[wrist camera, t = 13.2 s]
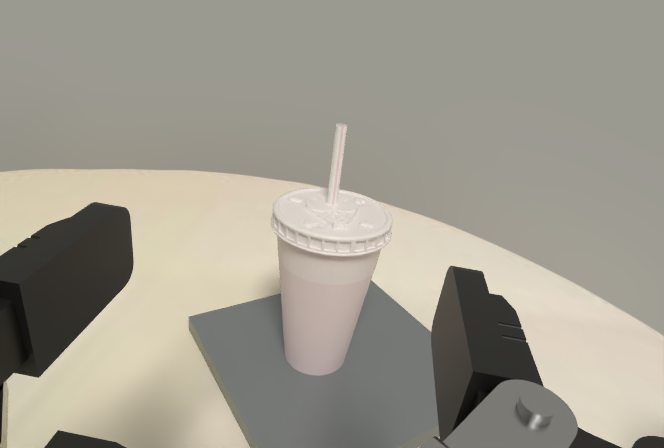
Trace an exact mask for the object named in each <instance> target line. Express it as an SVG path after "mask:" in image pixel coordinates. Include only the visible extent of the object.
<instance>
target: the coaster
mask: <svg viewBox="0 0 664 448" xmlns="http://www.w3.org/2000/svg"><path fill="white" fill-rule="evenodd" d="M189 330H190V332H191V334H192V336H193V338H194V340H195V342H196V343H197V345H198V347H199V349H200V351H201V353H202V355H203V357H204V359H205V361H206V363H207V365H208V367H209V368H210V370H211V372H212V374H213V376H214V378H215V380H216V382H217V384H218V386H219V388H220V390H221V392H222V393H223V395H224V397H225V399H226V401H227V403H228V405H229V407H230V409H231V411H232V413H233V415H234V417H235V418H236V420H237V422H238V424H239V426H240V428H241V430H242V432H243V434H244V436H245V438H246V440H247V441H248V443H249V445H250V447H251V448H418V447H420V446H422V445H423V444H424V443H425V442H426V441H427V440H428V439H430V438H431V437H434V436H436V437H439V425H438V414H437V403H436V392H435V381H434V370H433V359H432V348H431V332H430V331H429V330H428V329H427V328H426V327H424V326H423V325H422V324H421V323H420V322H419V321H418V320H416V319H415V318H414V317H413V316H412V315H411V314H409V313H408V312H407V311H406V310H405V309H404V308H403V307H401V306H400V305H399V304H398V303H397V302H396V301H394V300H393V299H392V298H391V297H390V296H389V295H388V294H386V293H385V292H384V291H383V290H382V289H381V288H379V287H378V286H377V285H376V284H375V283H374V282H373V281H370V284H369V287H368V290H367V293H366V296H365V299H364V302H363V305H362V308H361V311H360V314H359V317H358V320H357V323H356V327H355V330H354V333H353V336H352V339H351V342H350V345H349V348H348V351H347V354H346V357H345V360H344V363H343V364H342V366H341V367H340V368H339V369H338V370H336V371H335V372H333V373H330V374H327V375H320V376H315V375H308V374H304V373H302V372H299V371H297V370H296V369H294V368H293V367H292V366H291V365H290V364H289V363H288V362H287V360H286V358H285V351H284V335H283V319H282V303H281V294H278V295H274V296H270V297H266V298H262V299H258V300H254V301H250V302H246V303H242V304H238V305H234V306H230V307H226V308H222V309H218V310H214V311H210V312H206V313H202V314H198V315H194V316H190V317H189Z"/></svg>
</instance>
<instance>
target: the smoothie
mask: <svg viewBox="0 0 664 448" xmlns="http://www.w3.org/2000/svg"><path fill="white" fill-rule="evenodd" d="M346 131H347V125H344V124H336V130H335V138H334V147H333V155H332V162H331V171H330V179H329V187H328V188H305V189H299V190H294V191H291V192H288V193H286V194H284V195H282V196H280V197H279V198H278V199H277V200H276V201H275V202H274V204H273V213H272V218H271V226H272V228H273V231H274V233H275V234H277V236H278V257H279V270H280V286H281V303H282V319H283V335H284V351H285V358H286V360H287V362H288V363H289V364H290V365H291V366H292V367H293V368H294V369H296V370H297V371H299V372H302V373H304V374H308V375H315V376H320V375H327V374H330V373H333V372H335V371H336V370H338V369H339V368H340V367H341V366H342V364H343V363H344V360H345V357H346V354H347V351H348V348H349V345H350V342H351V339H352V336H353V333H354V330H355V327H356V323H357V320H358V317H359V314H360V311H361V308H362V305H363V302H364V299H365V296H366V293H367V290H368V287H369V284H370V281H371V278H372V275H373V272H374V270H375V267H376V264H377V260H378V257H379V254H380V251H381V249H382V248H384V247H385V246H386V245H387V244H388V243H389V242H390V239H391V234H392V233H391V228H392V224H393V218H392V215H391V214H390V212H389V211H388V210H387V209H386V208H385V207H384V206H383V205H381V204H380V203H379V202H377V201H375V200H373V199H371V198H369V197H366V196H364V195H361V194H358V193H354V192H350V191H345V190H340V189H339V184H340V177H341V169H342V162H343V154H344V147H345V139H346Z"/></svg>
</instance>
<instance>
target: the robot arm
mask: <svg viewBox="0 0 664 448" xmlns="http://www.w3.org/2000/svg"><path fill="white" fill-rule="evenodd" d="M132 270H133V248H132V235H131V221H130V214H129V211H128V210H127V209H126V208H124V207H120V206H114V205H108V204H103V203H97V202H94V203H91V204H90V205H88V206H87V207H85V208H84V209H82V210H81V211H79V212H78V213H76V214H75V215H73V216H72V217H69V218H66V219H63V220H61V221H58V222H55V223H52V224H49V225H47V226H45V227H44V228H42V229H41V230H39V231H38V232H36V233H35V234H33V235H32V236H31V238H27V239H25V240H24V241H22V242H21V243H19V244H18V246H17V247H13V248H12V249H10V250H9V251H7V252H5V253H4V254H2V255H1V256H0V448H7V422H8V387H7V383H6V380H7V379H8V378H9V377H10V376H11V375H12V374H13V373H18V374H23V375H28V376H33V377H38V378H39V377H40V376H41V375H42V374H43V372H44V371H45V370H46V369H47V368H48V367H49V366H50V365H51V364H52V363H53V362H54V361H55V360H56V359H57V358H58V357H59V356H60V354H61V353H62V352H63V351H64V350H65V349H66V348H67V347H68V346H69V345H70V344H71V343H72V342H73V341H74V340H75V339H76V338H77V336H78V335H79V334H80V333H81V332H82V331H83V330H84V329H85V328H86V327H87V326H88V325H89V324H90V323H91V322H92V321H93V320H94V318H95V317H96V316H97V315H98V314H99V313H100V312H101V311H102V310H103V309H104V308H105V307H106V306H107V305H108V304H109V303H110V301H111V300H112V299H113V298H114V297H115V296H116V295H117V294H118V293H119V292H120V291H121V290H122V289H123V288H124V287H125V285H126V284H127V283H128V281H129V279H130V277H131V274H132ZM431 348H432V359H433V370H434V381H435V392H436V403H437V414H438V425H439V436H440V439H439V438H438V437H436V436H434V437H431V438H430V439H428V440H427V441H426V442H425V443H424V444H423V445H422V446H421V447H420V448H621V447H619V446H617V445H615V444H612V443H610V442H608V441H605V440H603V439H601V438H599V437H596V436H594V435H592V434H590V433H588V432H586V431H584V430H582V429H580V428H579V427H578V425H577V421H576V418H575V416H574V414H573V412H572V410H571V409H570V408H569V407H568V405H567V404H566V403H565V402H564V401H563V400H562V399H561V398H560V397H558V396H557V395H556V394H554V393H553V392H551V391H550V390H548V389H546V388H545V387H544V386H543V383H542V381H541V378H540V375H539V373H538V370H537V367H536V364H535V362H534V359H533V356H532V354H531V351H530V348H529V345H528V343H527V342H526V337H525V335H524V332H523V329H521V324H520V321H519V318H518V316H517V313H516V311H515V309H514V308H513V307H512V306H511V305H510V304H509V303H508V302H507V301H506V300H505V299H504V298H503V296H500V295H495V294H489V291H488V287H487V284H486V281H485V278H484V274H483V272H482V271H477V270H472V269H466V268H461V267H455V266H450V267H449V269H448V271H447V274H446V277H445V281H444V284H443V288H442V291H441V295H440V298H439V302H438V305H437V309H436V312H435V316H434V320H433V325H432V332H431ZM45 448H126V447H124V446H122V445H120V444H118V443H116V442H112V441H107V440H102V439H97V438H92V437H88V436H83V435H78V434H73V433H68V432H64V431H59V430H58V431H57V432H56V434H55V435H54V436H53V437H52V439H51V440H50V441H49V443H48V444H47V445H46V446H45ZM632 448H664V438H663V437H657V436H646V437H642V438H640V439H638V440H637V441H636V442H635V443H634V445H633V447H632Z"/></svg>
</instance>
